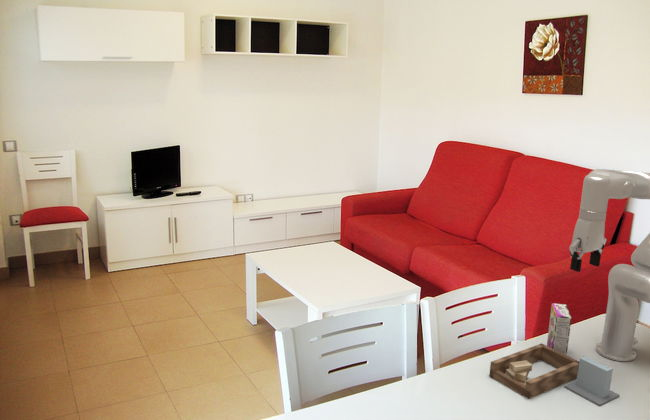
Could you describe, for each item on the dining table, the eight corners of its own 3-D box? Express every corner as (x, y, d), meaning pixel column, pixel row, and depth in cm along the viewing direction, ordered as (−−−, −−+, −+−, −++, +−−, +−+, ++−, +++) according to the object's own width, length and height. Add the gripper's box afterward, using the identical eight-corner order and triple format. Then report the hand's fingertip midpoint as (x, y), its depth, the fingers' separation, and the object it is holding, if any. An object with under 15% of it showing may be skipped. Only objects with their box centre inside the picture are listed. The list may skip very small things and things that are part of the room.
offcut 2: (529, 371, 194) (530, 364, 194) (524, 383, 187) (525, 375, 187) (519, 369, 196) (520, 362, 195) (514, 380, 189) (515, 373, 188)
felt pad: (583, 378, 195) (584, 377, 195) (619, 396, 185) (619, 395, 185) (564, 387, 190) (564, 385, 189) (599, 406, 180) (599, 404, 180)
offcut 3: (513, 375, 197) (514, 368, 196) (530, 392, 187) (531, 384, 187) (505, 376, 196) (505, 369, 195) (521, 393, 187) (522, 385, 186)
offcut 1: (531, 370, 190) (532, 364, 189) (514, 373, 188) (515, 367, 188) (525, 366, 193) (526, 360, 192) (509, 368, 191) (509, 362, 190)
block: (581, 382, 192) (585, 355, 189) (608, 395, 185) (613, 368, 182) (575, 384, 190) (579, 358, 188) (602, 398, 183) (607, 371, 181)
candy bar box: (545, 346, 216) (551, 302, 212) (560, 347, 215) (566, 304, 211) (550, 361, 205) (556, 315, 201) (566, 363, 204) (572, 317, 200)
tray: (539, 356, 208) (541, 343, 207) (579, 377, 196) (581, 362, 195) (489, 376, 195) (490, 361, 194) (528, 399, 183) (530, 383, 181)
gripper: (598, 208, 197) (590, 259, 201) (564, 215, 187) (557, 268, 192) (620, 214, 191) (612, 266, 195) (586, 221, 181) (578, 276, 186)
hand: (584, 267), depth 193 cm, fingers open, 9 cm apart
